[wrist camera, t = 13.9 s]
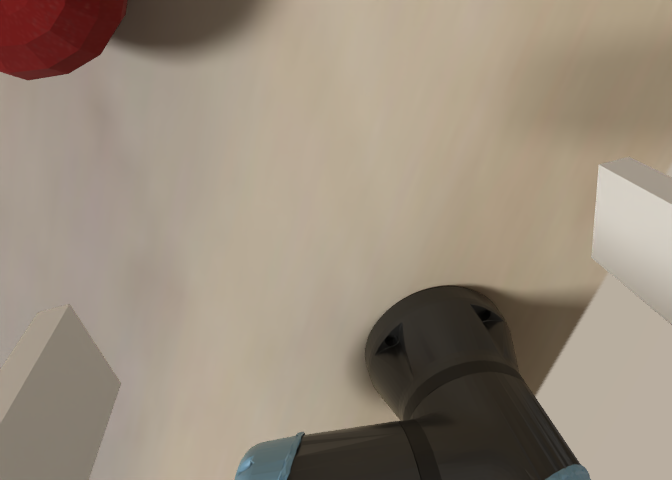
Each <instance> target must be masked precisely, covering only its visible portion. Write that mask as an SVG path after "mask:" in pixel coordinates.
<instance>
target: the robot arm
mask: <svg viewBox="0 0 672 480" xmlns="http://www.w3.org/2000/svg"><path fill="white" fill-rule="evenodd" d="M591 258H592V259H594V260H595V261H596V262H597V263H598V264H600V265H601V266H602V267H603V268H604V269H606V270H607V271H608V272H609V273H610V274H612V275H613V276H614V277H615V278H617V279H618V280H619V281H620V282H621V283H623V285H625V286H626V287H627V288H628V289H630V290H631V291H632V292H633V293H634V294H635V295H637V296H638V297H639V298H640V299H641V300H643V301H644V302H645V303H646V304H647V305H649V306H650V307H651V308H652V309H653V310H655V311H656V312H657V313H658V314H659V315H661V316H662V317H663V318H664V319H665V320H667V321H668V322H669V323H670V324H671V325H672V177H670V176H668V175H666V174H664V173H662V172H660V171H658V170H656V169H654V168H652V167H649V166H647V165H645V164H643V163H641V162H639V161H637V160H635V159H633V158H631V157H626V158H622V159H618V160H615V161H611V162H607V163H603V164H599V170H598V182H597V195H596V207H595V220H594V232H593V245H592V257H591ZM365 360H366V364H367V368H368V371H369V375H370V378H371V381H372V383H373V385H374V387H375V389H376V390H377V392H378V393H379V394H380V396H381V397H382V398H383V399H384V401H385V402H386V403H387V404H388V406H389V407H390V408H391V409H392V411H393V412H394V413H395V414H396V416H397V417H398V418H399V419H400V421H395V422H388V423H381V424H375V425H368V426H362V427H355V428H348V429H342V430H335V431H328V432H322V433H315V434H309V435H305V433H304V432H299V433H297V435H296V436H292V437H287V438H282V439H277V440H272V441H267V442H262V443H259V444H257V445H255V446H253V447H252V448H251V449H249V450H248V451H247V453H246V454H245V455H244V457H243V458H242V460H241V462H240V464H239V467H238V470H237V473H236V476H235V480H591V479H590V477H589V473H588V471H587V470H586V468H585V467H583V466H582V465H581V464H580V463H579V461H578V460H577V458H576V457H575V456H574V454H573V453H572V451H571V450H570V448H569V447H568V445H567V444H566V442H565V441H564V439H563V438H562V436H561V435H560V433H559V432H558V430H557V429H556V427H555V426H554V425H553V423H552V421H551V420H550V418H549V417H548V416H547V414H546V413H545V411H544V410H543V408H542V407H541V405H540V404H539V402H538V401H537V399H536V398H535V396H534V395H533V393H532V392H531V390H530V389H529V387H528V386H527V384H526V383H525V381H524V380H523V378H522V377H521V375H520V374H519V370H518V365H517V361H516V356H515V352H514V347H513V342H512V338H511V333H510V330H509V327H508V325H507V323H506V321H505V319H504V318H503V316H502V315H501V313H500V312H499V311H498V309H497V308H496V307H495V305H494V304H493V303H492V302H491V301H490V300H489V299H488V298H487V297H485V296H484V295H482V294H480V293H478V292H476V291H473V290H470V289H467V288H461V287H437V288H432V289H427V290H424V291H421V292H418V293H415V294H413V295H411V296H409V297H407V298H405V299H403V300H401V301H400V302H398V303H397V304H395V305H394V306H392V307H391V308H390V309H389V310H388V311H386V312H385V313H384V314H383V315H382V317H381V318H380V319H379V320H378V321H377V323H376V324H375V325H374V327H373V329H372V330H371V332H370V334H369V337H368V340H367V343H366V348H365ZM120 385H121V382H120V381H119V379H118V378H117V376H116V375H115V373H114V372H113V370H112V369H111V367H110V366H109V364H108V362H107V361H106V359H105V358H104V356H103V355H102V353H101V352H100V350H99V349H98V347H97V345H96V344H95V342H94V341H93V339H92V338H91V336H90V335H89V333H88V332H87V330H86V329H85V327H84V325H83V324H82V322H81V321H80V319H79V318H78V316H77V315H76V313H75V312H74V310H73V308H72V307H71V305H70V304H68V305H64V306H60V307H56V308H52V309H49V310H45V311H41V312H38V313H37V314H36V316H35V318H34V319H33V321H32V322H31V324H30V325H29V327H28V328H27V330H26V331H25V333H24V334H23V336H22V337H21V339H20V340H19V342H18V343H17V345H16V346H15V348H14V349H13V351H12V352H11V354H10V356H9V357H8V359H7V360H6V362H5V363H4V365H3V366H2V368H1V369H0V480H89V477H90V474H91V471H92V468H93V465H94V462H95V459H96V456H97V453H98V450H99V447H100V444H101V441H102V438H103V435H104V432H105V430H106V427H107V424H108V421H109V418H110V415H111V412H112V409H113V406H114V403H115V400H116V397H117V394H118V391H119V388H120Z"/></svg>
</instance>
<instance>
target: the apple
mask: <svg viewBox="0 0 672 480" xmlns="http://www.w3.org/2000/svg"><path fill="white" fill-rule="evenodd" d="M126 8H127V0H0V72H3V73H6V74H9V75H12V76H15V77H19V78H22V79H25V80H33V79H39V78H45V77H51V76H57V75H63V74H69V73H70V72H72V71H74V70H75V69H77V68H79V67H80V66H82V65H84V64H85V63H87V62H89V61H91V60H92V59H94V58H96V57H97V56H99V55H100V54H101V53H102V51H103V50H104V48H105V46H106V45H107V43H108V42H109V40H110V38H111V37H112V35H113V34H114V32H115V30H116V29H117V27H118V25H119V24H120V22H121V21H122V19H123V18H124V16H125V15H126Z"/></svg>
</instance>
